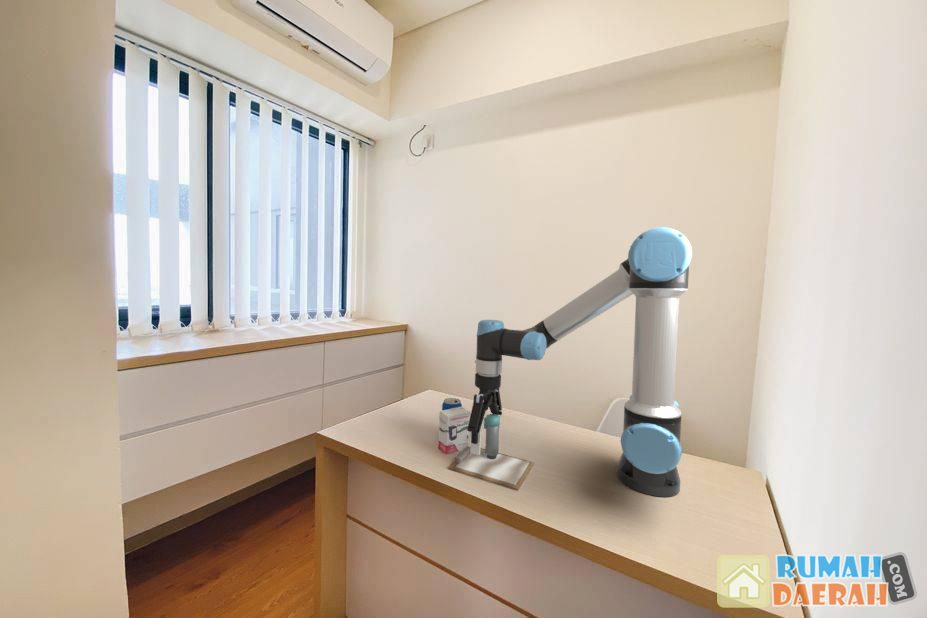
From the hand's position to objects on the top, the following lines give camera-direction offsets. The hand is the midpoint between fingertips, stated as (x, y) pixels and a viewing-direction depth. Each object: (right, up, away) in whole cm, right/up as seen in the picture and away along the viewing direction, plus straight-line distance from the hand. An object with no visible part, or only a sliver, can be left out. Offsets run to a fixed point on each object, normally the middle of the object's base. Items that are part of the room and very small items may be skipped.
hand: (484, 444), depth 103 cm
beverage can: (-10, -3, +13) cm, 17 cm away
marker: (+2, -3, -1) cm, 4 cm away
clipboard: (+2, -4, -5) cm, 7 cm away
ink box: (-9, -3, +5) cm, 11 cm away
